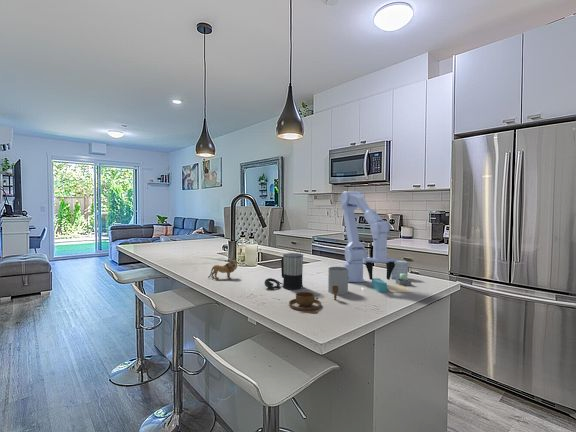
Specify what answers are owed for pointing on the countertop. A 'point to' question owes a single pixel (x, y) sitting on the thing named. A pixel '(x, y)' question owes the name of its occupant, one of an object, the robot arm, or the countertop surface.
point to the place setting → (309, 300)
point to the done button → (403, 277)
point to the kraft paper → (397, 288)
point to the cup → (338, 279)
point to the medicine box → (399, 269)
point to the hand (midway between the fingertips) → (379, 279)
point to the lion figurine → (224, 269)
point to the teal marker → (379, 285)
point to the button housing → (403, 282)
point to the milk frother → (289, 272)
